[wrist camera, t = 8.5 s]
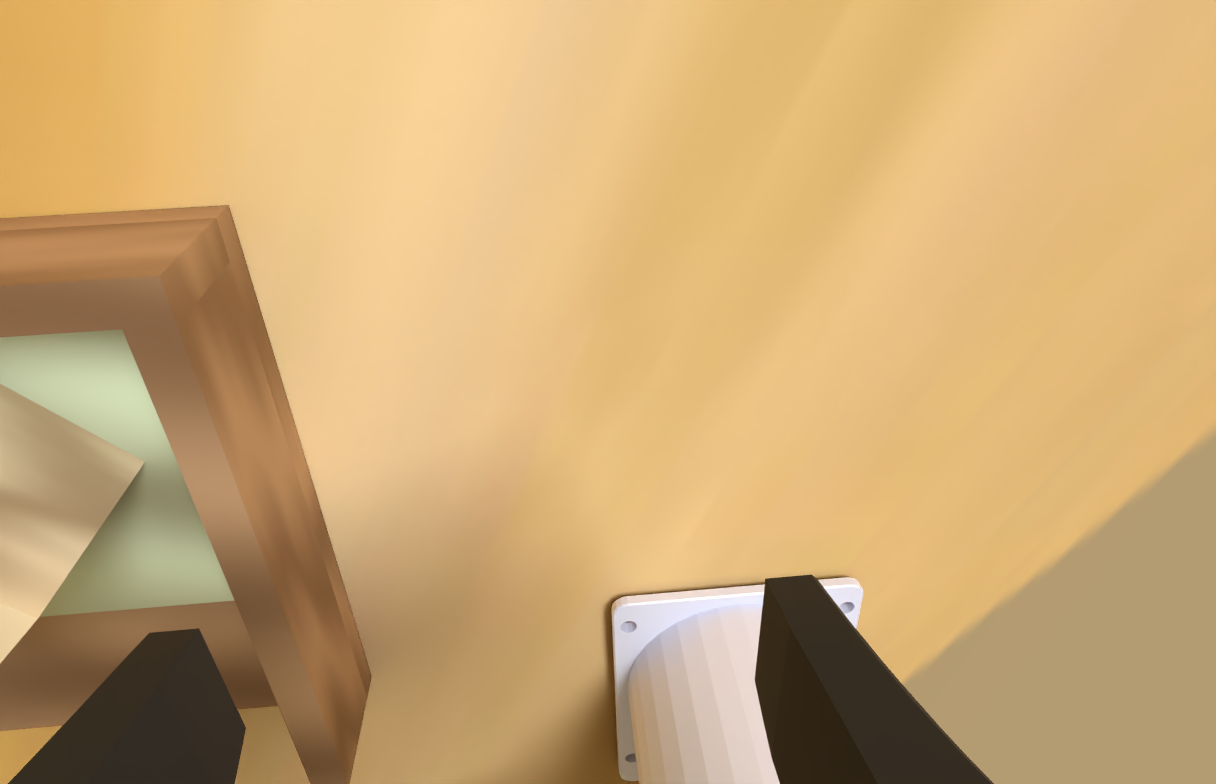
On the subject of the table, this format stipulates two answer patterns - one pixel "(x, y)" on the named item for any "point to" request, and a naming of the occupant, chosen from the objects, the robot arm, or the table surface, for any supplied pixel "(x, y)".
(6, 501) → the block
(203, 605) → the arena
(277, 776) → the table surface
